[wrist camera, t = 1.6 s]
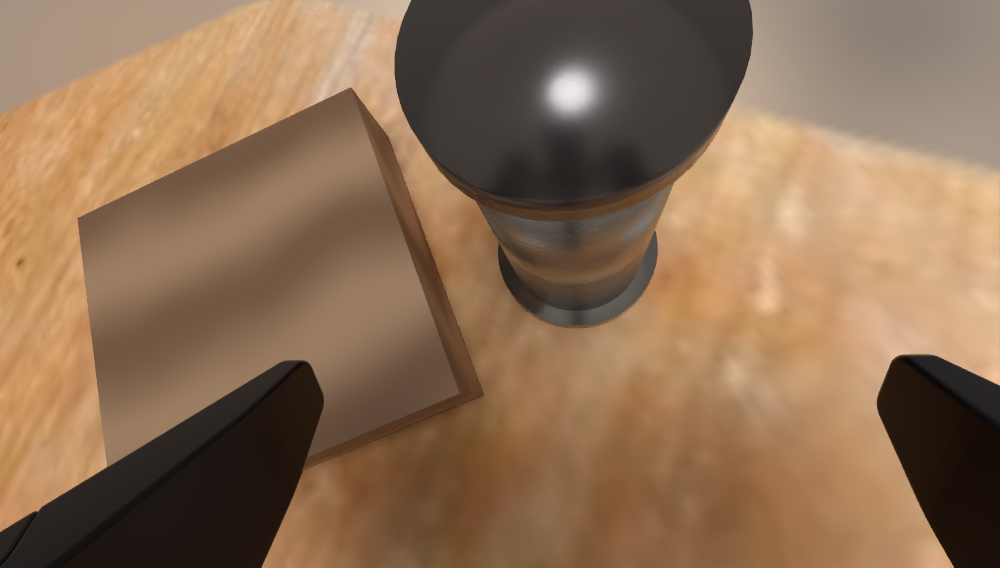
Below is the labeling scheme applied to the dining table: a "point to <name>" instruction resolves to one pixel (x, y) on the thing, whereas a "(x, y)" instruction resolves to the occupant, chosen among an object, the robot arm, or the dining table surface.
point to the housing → (571, 129)
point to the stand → (273, 286)
